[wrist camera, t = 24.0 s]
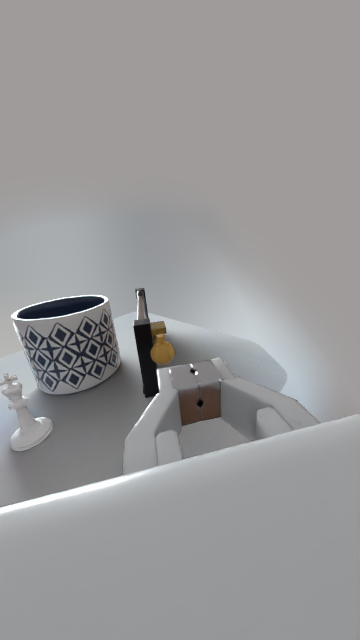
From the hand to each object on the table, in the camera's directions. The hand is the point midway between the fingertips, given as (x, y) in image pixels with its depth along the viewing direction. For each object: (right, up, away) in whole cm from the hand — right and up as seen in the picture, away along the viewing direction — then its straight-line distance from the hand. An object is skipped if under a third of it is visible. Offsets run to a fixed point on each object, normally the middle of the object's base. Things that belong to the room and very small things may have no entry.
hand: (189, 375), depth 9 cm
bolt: (-3, -2, +21) cm, 22 cm away
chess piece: (-21, -14, +19) cm, 31 cm away
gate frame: (-7, -5, +37) cm, 38 cm away
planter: (-21, -8, +33) cm, 40 cm away
